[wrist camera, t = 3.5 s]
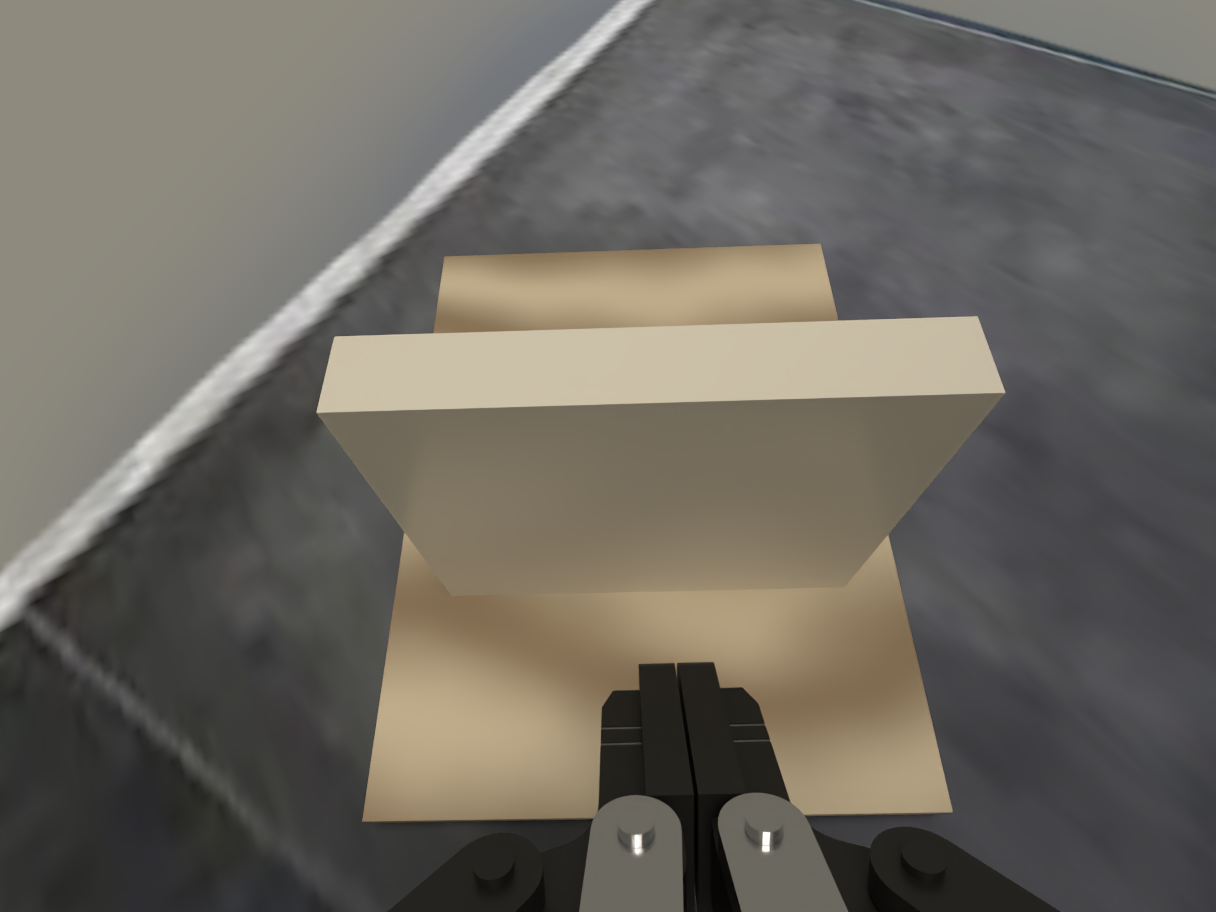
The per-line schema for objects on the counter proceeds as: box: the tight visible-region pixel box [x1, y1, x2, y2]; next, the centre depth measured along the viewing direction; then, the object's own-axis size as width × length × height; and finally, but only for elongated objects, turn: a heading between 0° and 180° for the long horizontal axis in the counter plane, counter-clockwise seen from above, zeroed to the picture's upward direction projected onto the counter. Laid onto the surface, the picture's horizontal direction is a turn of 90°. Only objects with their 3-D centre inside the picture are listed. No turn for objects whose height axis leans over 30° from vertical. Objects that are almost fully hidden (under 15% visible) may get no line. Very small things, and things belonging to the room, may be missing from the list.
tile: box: [316, 316, 1005, 596], centre depth 20 cm, size 14×2×12 cm, turn 91°
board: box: [362, 244, 953, 823], centre depth 27 cm, size 24×18×2 cm
